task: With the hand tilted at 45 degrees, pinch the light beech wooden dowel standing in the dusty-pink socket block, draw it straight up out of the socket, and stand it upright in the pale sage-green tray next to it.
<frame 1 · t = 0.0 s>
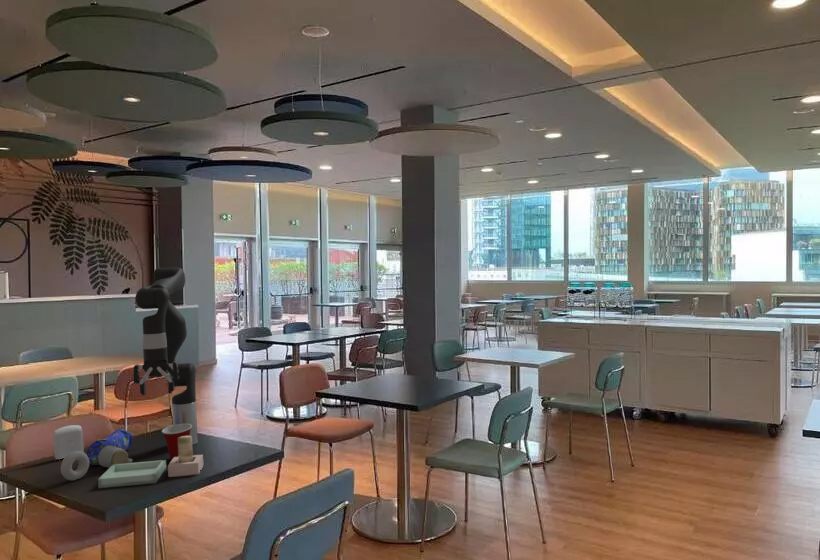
hand: (157, 394, 208), 29 cm above the table, tool pointing down, fingers open, 8 cm apart
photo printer: (69, 457, 240), on the table
dowel: (185, 454, 216), in the socket block
tray: (133, 477, 211), on the table
pencil case: (110, 458, 237), on the table
ceramic mug: (117, 467, 225), on the table
socket block: (186, 471, 216), on the table
donut: (76, 480, 212), on the table
plastic cup: (178, 459, 232), on the table
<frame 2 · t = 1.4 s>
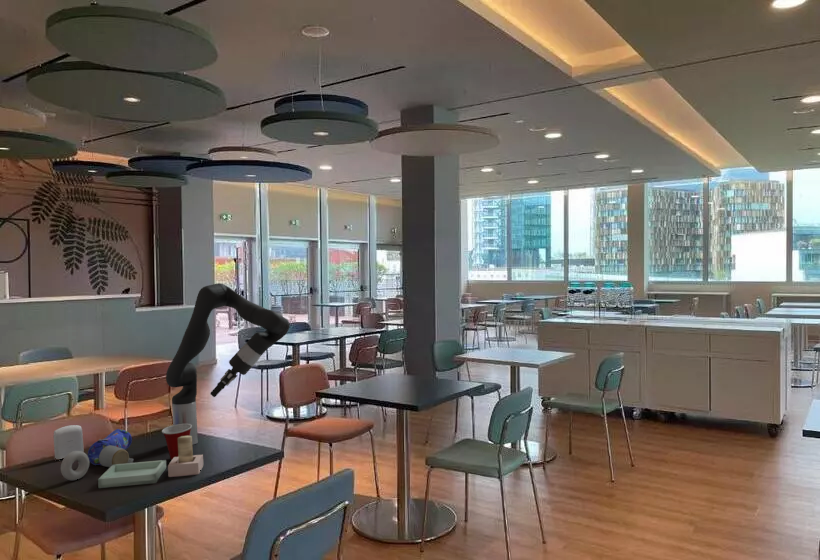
hand: (214, 393, 217), 27 cm above the table, tool tilted 45°, fingers open, 8 cm apart
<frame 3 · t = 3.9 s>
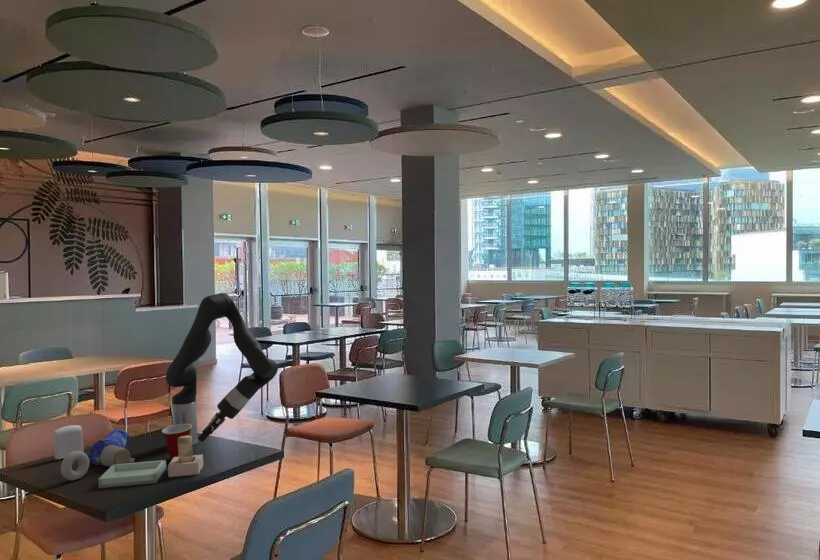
hand: (202, 437, 217), 12 cm above the table, tool tilted 45°, fingers open, 8 cm apart
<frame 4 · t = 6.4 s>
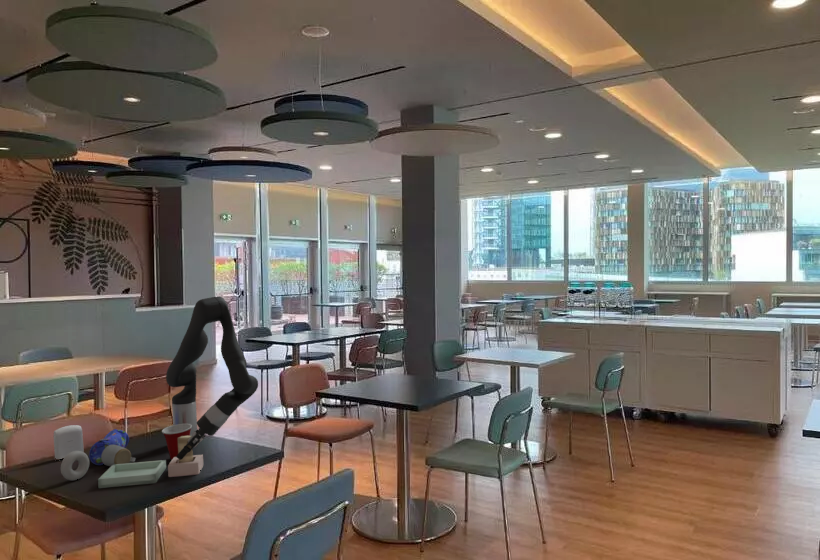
hand: (180, 455, 216), 6 cm above the table, tool tilted 45°, fingers closed on dowel, 4 cm apart
dowel: (185, 454, 216), in the socket block, touching gripper
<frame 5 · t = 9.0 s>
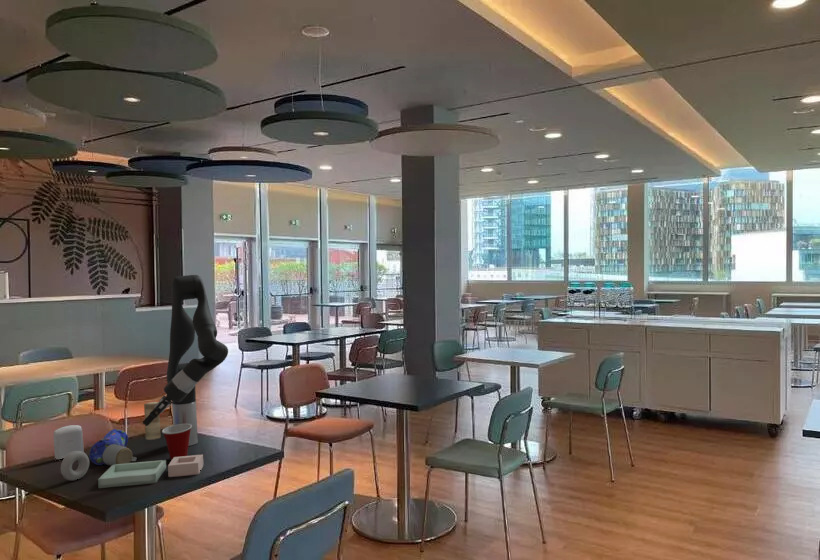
hand: (146, 422, 213), 19 cm above the table, tool tilted 45°, fingers closed on dowel, 4 cm apart
dowel: (152, 420, 213), point 19 cm above the table, touching gripper
when the fingers open (8 cm above the table, at t = 12.0 s): dowel drops 1 cm, resting on tray.
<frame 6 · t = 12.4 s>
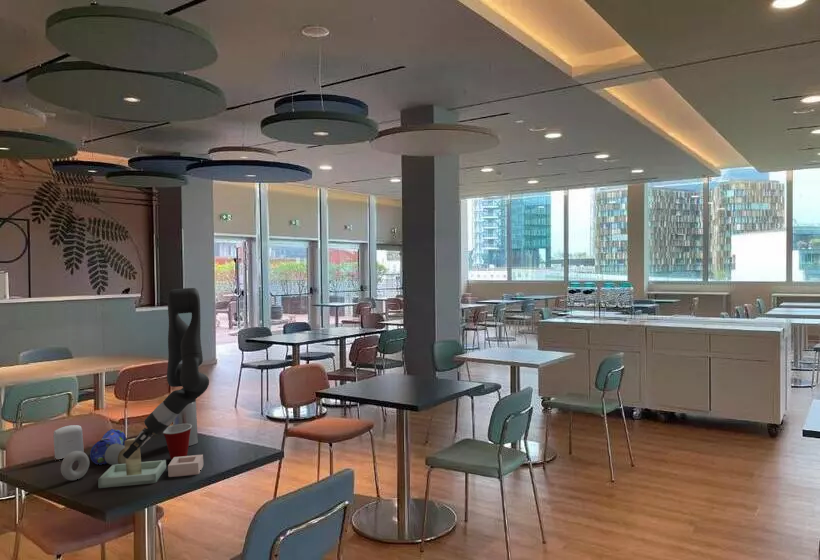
hand: (128, 453, 211), 9 cm above the table, tool tilted 45°, fingers open, 8 cm apart
dowel: (133, 457, 211), in the tray, point 7 cm above the table
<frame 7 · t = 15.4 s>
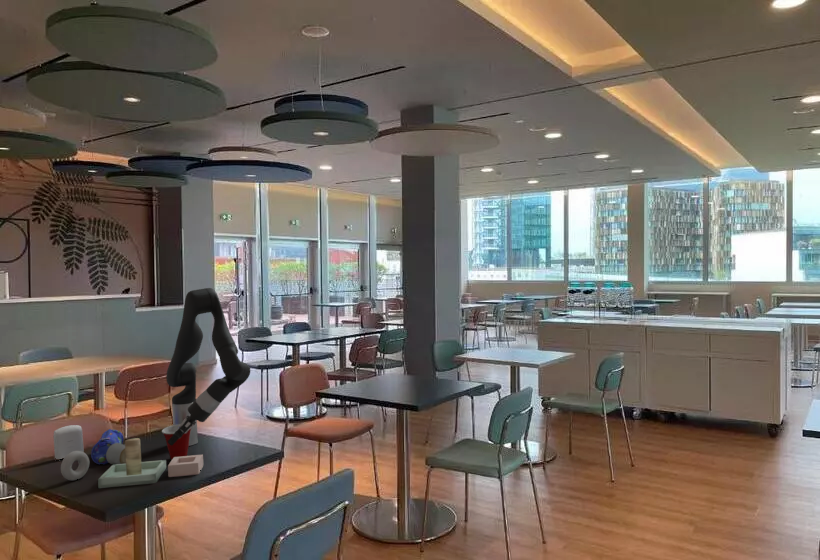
hand: (172, 440, 214), 12 cm above the table, tool tilted 45°, fingers open, 8 cm apart
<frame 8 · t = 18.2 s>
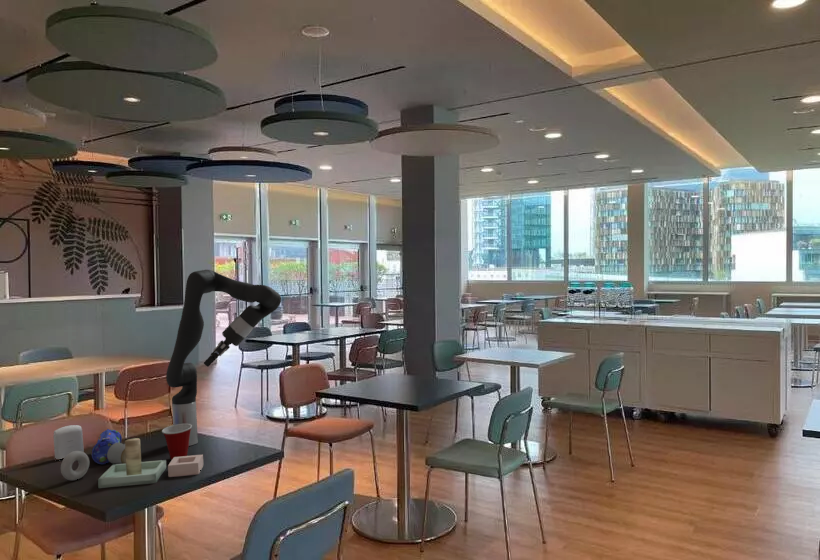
hand: (207, 363, 225), 37 cm above the table, tool tilted 45°, fingers open, 8 cm apart
pencil case: (107, 457, 238), on the table, touching ceramic mug
ceramic mug: (125, 463, 229), on the table, touching pencil case
everything else where it was.
at the end: dowel inside the target area on the tray (0.1 cm from its centre), point 7.0 cm above the tray's base; dowel tilted 0°; the gripper is holding nothing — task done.
